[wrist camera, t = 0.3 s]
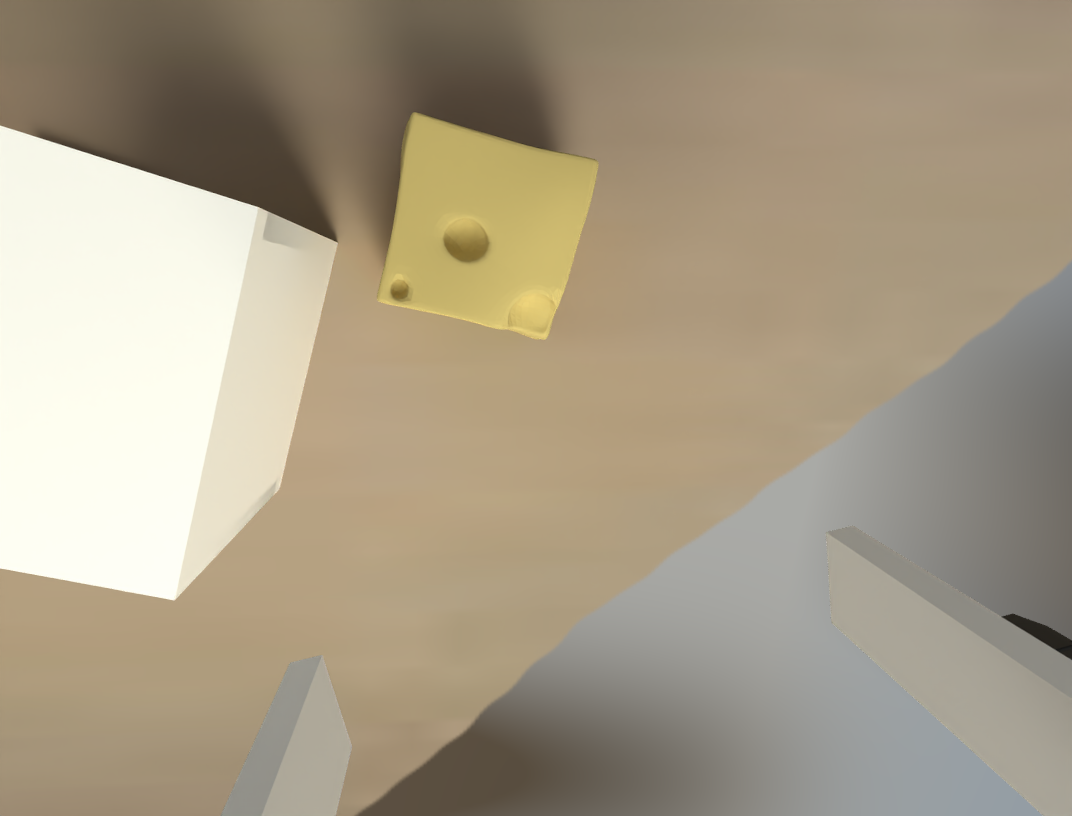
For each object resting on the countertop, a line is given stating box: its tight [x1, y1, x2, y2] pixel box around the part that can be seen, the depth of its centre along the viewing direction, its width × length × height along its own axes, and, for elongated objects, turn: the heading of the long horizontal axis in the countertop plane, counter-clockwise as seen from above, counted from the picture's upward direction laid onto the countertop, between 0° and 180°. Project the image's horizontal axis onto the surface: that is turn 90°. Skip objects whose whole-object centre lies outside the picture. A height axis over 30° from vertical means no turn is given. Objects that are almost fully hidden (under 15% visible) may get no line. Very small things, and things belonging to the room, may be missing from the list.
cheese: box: [377, 112, 598, 340], centre depth 33 cm, size 10×11×10 cm
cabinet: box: [0, 126, 338, 600], centre depth 29 cm, size 18×18×15 cm
